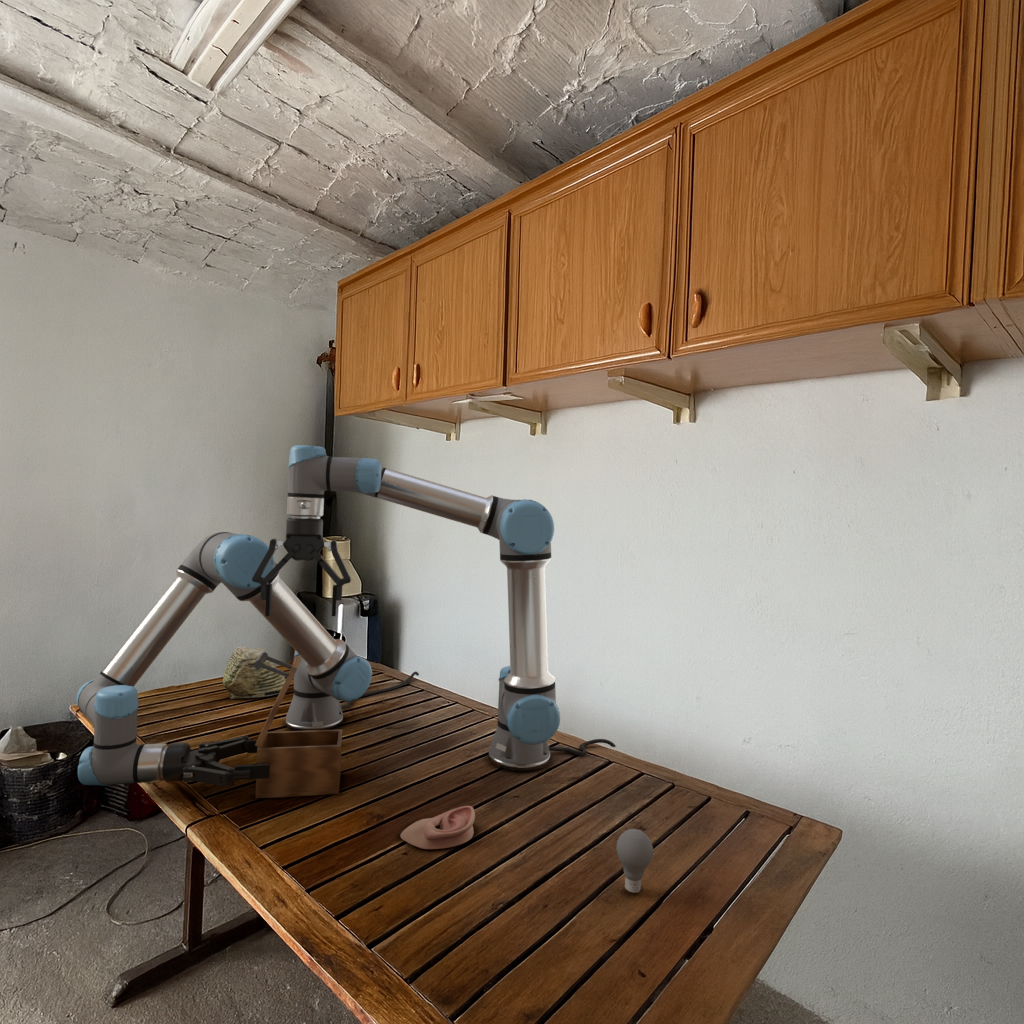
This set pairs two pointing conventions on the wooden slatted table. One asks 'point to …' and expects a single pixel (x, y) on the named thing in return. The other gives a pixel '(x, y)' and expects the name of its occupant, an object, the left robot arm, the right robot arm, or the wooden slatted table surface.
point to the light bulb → (634, 857)
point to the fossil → (250, 675)
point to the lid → (260, 664)
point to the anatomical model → (442, 829)
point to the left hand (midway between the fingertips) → (274, 757)
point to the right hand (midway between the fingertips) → (301, 615)
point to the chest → (300, 763)
